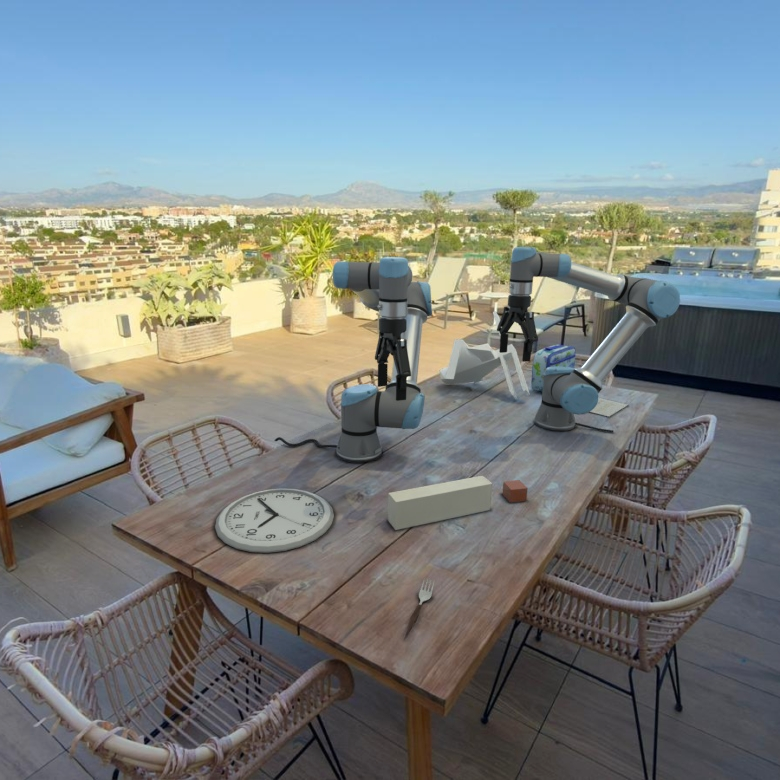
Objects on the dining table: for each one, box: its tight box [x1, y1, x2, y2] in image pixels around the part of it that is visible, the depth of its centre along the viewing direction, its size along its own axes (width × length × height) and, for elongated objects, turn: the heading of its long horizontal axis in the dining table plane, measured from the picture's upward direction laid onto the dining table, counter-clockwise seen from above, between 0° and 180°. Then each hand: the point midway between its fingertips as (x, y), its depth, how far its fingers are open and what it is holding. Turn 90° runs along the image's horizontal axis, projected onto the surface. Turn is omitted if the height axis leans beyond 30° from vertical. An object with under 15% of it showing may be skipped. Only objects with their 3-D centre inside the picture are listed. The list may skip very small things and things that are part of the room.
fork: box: [405, 577, 435, 637], centre depth 104 cm, size 3×16×2 cm, turn 160°
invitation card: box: [589, 397, 629, 418], centre depth 226 cm, size 21×1×15 cm
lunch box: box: [530, 344, 577, 392], centre depth 247 cm, size 26×11×21 cm, turn 134°
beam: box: [387, 475, 493, 531], centre depth 138 cm, size 28×5×8 cm, turn 112°
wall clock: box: [214, 488, 335, 554], centre depth 135 cm, size 30×2×30 cm
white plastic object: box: [438, 310, 531, 400], centre depth 245 cm, size 37×45×31 cm
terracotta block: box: [502, 479, 528, 503], centre depth 148 cm, size 5×5×4 cm
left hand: (391, 392), depth 146 cm, fingers open, 13 cm apart
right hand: (514, 356), depth 181 cm, fingers open, 13 cm apart
